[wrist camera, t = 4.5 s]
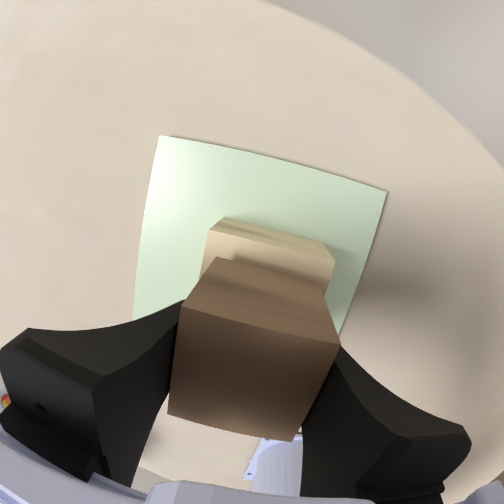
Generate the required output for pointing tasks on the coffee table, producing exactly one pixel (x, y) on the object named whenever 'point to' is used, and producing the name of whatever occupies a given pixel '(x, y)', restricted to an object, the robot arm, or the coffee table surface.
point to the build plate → (246, 217)
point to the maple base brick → (268, 251)
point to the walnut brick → (251, 351)
